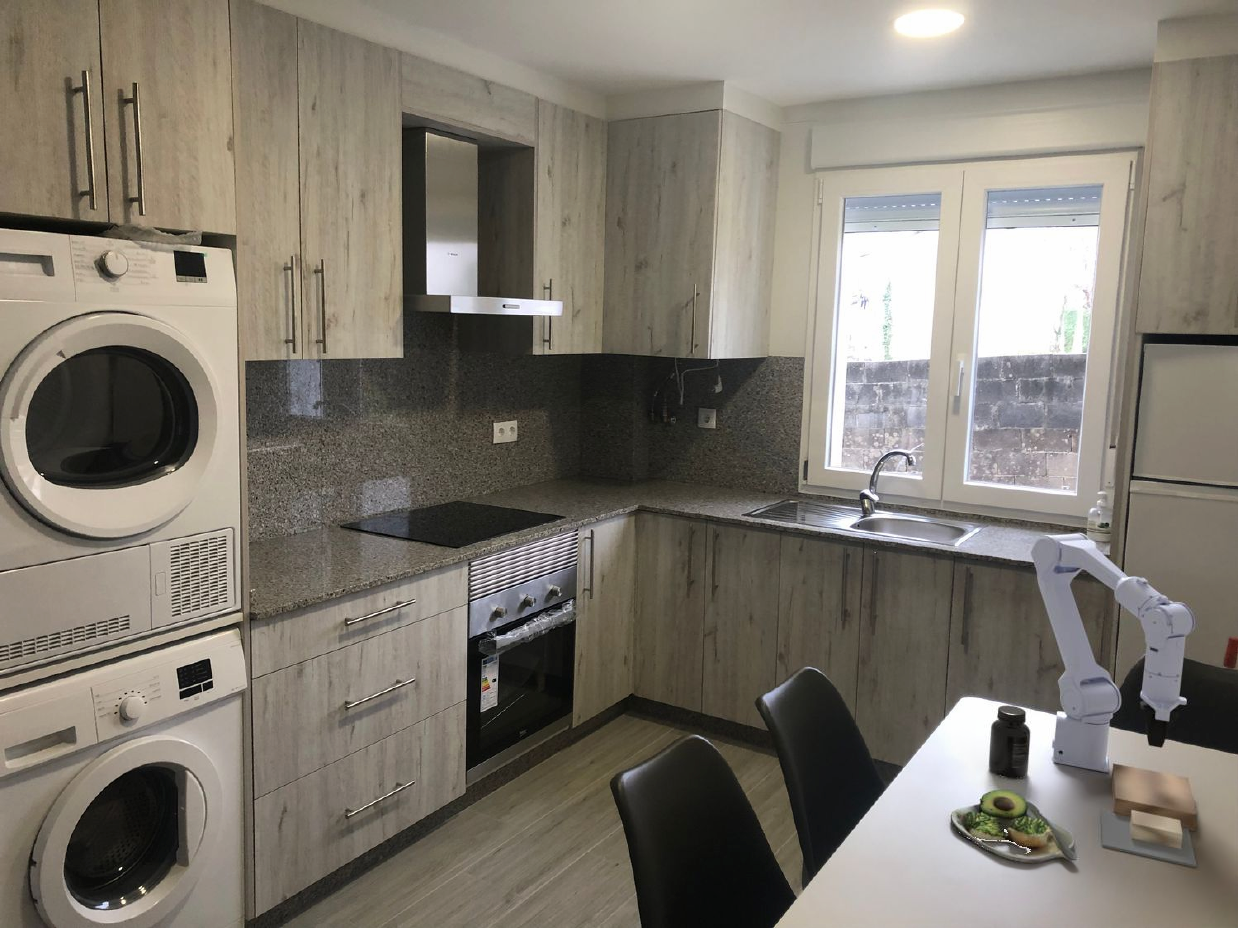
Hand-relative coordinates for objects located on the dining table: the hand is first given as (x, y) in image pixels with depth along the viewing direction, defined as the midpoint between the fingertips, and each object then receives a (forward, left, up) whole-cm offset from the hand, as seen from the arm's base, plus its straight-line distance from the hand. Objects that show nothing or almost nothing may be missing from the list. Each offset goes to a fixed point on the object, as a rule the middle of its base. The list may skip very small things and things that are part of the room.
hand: (1155, 745), depth 169 cm
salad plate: (-22, -26, -10) cm, 35 cm away
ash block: (0, -17, -6) cm, 18 cm away
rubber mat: (-2, -18, -9) cm, 20 cm away
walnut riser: (0, -4, -9) cm, 10 cm away
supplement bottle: (-24, -2, -10) cm, 25 cm away
